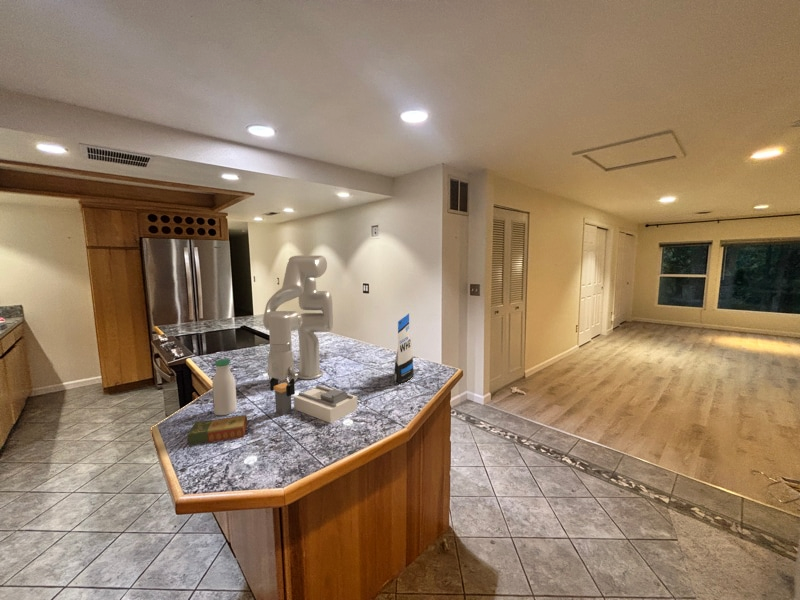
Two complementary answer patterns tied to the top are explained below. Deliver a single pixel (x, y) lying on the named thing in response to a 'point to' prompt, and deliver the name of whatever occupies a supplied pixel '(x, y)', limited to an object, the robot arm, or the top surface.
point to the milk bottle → (224, 389)
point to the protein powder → (403, 353)
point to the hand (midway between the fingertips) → (282, 392)
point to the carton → (217, 430)
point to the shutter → (334, 396)
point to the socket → (324, 405)
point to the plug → (282, 399)
